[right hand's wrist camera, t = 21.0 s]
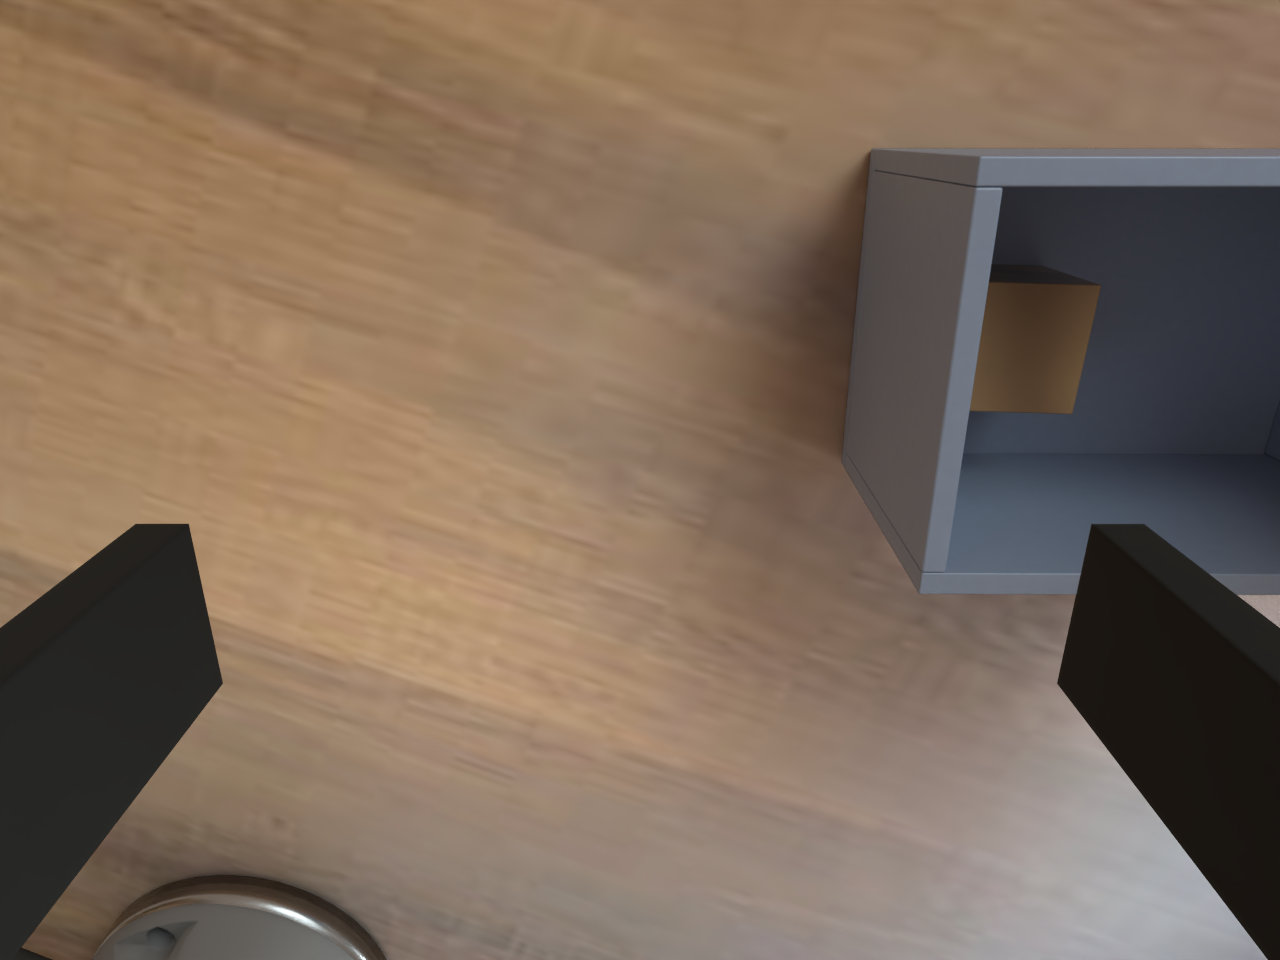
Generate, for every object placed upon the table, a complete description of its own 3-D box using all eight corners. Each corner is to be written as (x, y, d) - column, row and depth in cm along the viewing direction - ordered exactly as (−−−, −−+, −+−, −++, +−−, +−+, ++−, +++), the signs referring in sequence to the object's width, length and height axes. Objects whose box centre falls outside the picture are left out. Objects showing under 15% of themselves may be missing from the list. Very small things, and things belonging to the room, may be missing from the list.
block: (908, 377, 33) (944, 410, 29) (925, 261, 31) (966, 280, 27) (1020, 380, 33) (1072, 414, 29) (1043, 265, 31) (1102, 284, 27)
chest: (840, 463, 35) (918, 594, 25) (870, 148, 30) (979, 155, 20) (1264, 464, 35) (1512, 596, 25) (1356, 148, 30) (1702, 156, 20)
